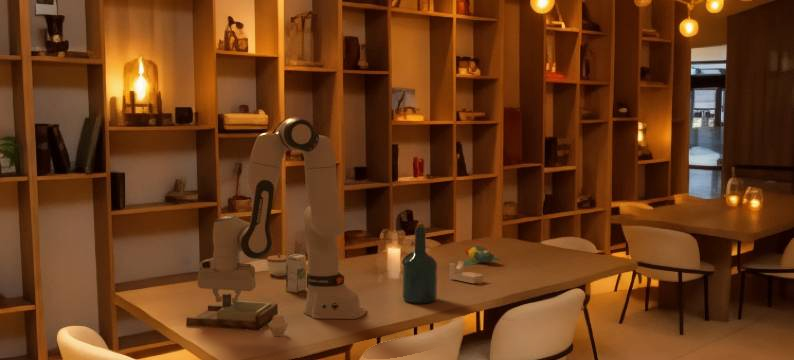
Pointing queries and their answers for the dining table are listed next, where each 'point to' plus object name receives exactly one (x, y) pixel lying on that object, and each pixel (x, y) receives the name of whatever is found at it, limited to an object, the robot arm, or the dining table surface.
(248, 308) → the drawer
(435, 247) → the dining table surface
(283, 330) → the muffin
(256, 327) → the bay
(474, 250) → the green parrot figure
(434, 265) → the wine bottle
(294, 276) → the syrup box
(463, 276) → the bracket
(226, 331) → the dining table surface
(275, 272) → the lidded jar
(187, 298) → the dining table surface
